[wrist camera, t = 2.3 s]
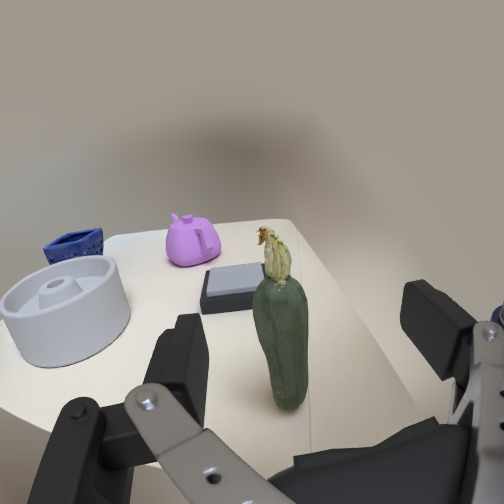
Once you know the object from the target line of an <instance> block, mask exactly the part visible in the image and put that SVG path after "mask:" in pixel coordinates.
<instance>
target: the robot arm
mask: <svg viewBox="0 0 504 504" xmlns="http://www.w3.org/2000/svg"><path fill="white" fill-rule="evenodd" d="M400 323H401V327H402V329H403V331H404V332H405V333H406V335H407V336H408V337H409V338H410V340H411V341H412V342H413V344H414V345H415V346H416V347H417V349H418V350H419V351H420V352H421V354H422V355H423V356H424V357H425V359H426V360H427V362H428V363H429V364H430V366H431V367H432V368H433V370H434V371H435V372H436V374H437V375H438V376H439V378H440V379H441V380H442V381H444V380H446V379H449V378H451V377H454V378H455V380H454V383H453V386H452V395H451V402H450V410H449V416H448V421H447V424H440V425H439V423H438V422H437V420H436V418H435V417H431V418H429V419H426V420H424V421H421V422H419V423H416V424H413V425H411V426H408V427H405V428H404V429H402V430H400V431H399V432H397V433H396V434H394V435H393V436H391V437H389V438H388V439H386V440H384V441H383V442H381V443H379V444H377V445H375V446H373V447H364V448H344V449H329V450H325V451H320V452H315V453H309V454H304V455H298V456H293V459H294V466H292V467H290V468H287V469H285V470H283V471H281V472H279V473H277V474H275V475H274V476H272V477H270V478H269V479H268V480H265V479H264V478H263V477H262V476H261V475H260V474H258V473H257V472H256V471H255V470H254V469H253V468H251V467H250V466H249V465H248V464H247V463H246V462H245V461H243V460H242V459H241V458H240V457H239V456H238V455H237V454H236V453H235V452H234V451H233V450H232V449H230V448H229V447H228V446H227V445H226V444H225V443H224V442H223V441H222V440H221V439H220V438H219V437H218V436H217V435H216V434H215V433H214V432H213V431H212V430H210V429H209V428H205V429H203V428H204V415H205V403H206V391H207V380H208V369H209V351H208V346H207V342H206V338H205V334H204V330H203V325H202V321H201V317H200V315H199V313H193V314H183V315H178V318H177V321H176V324H175V328H174V329H166V330H165V331H164V332H163V333H162V334H161V335H160V336H159V337H158V340H157V343H156V345H155V349H154V351H153V354H152V357H151V360H150V363H149V366H148V369H147V372H146V375H145V378H144V381H143V384H142V385H140V386H137V387H136V388H134V389H133V390H131V391H130V392H129V393H128V395H127V396H126V398H125V401H124V402H123V403H120V404H115V405H111V406H106V407H101V408H100V407H99V405H98V403H97V402H96V401H95V400H94V399H92V398H89V397H78V398H75V399H73V400H71V401H69V402H68V403H67V404H66V405H65V406H64V407H63V408H62V410H61V412H60V414H59V416H58V419H57V421H56V424H55V426H54V428H53V431H52V433H51V436H50V438H49V441H48V443H47V446H46V449H45V452H44V454H43V457H42V460H41V462H40V465H39V468H38V471H37V474H36V477H35V480H34V483H33V486H32V489H31V492H30V496H29V499H28V503H27V504H129V503H130V495H131V487H132V480H133V473H134V466H137V465H143V464H148V463H153V462H157V461H158V462H159V464H160V465H161V466H162V468H163V469H164V471H165V472H166V473H167V475H168V476H169V477H170V479H171V480H172V481H173V483H174V484H175V485H176V486H177V487H178V489H179V490H180V491H181V493H182V494H183V495H184V496H185V498H186V499H187V500H188V501H189V502H190V504H504V302H503V306H502V308H501V311H500V314H499V323H500V325H501V326H502V327H501V326H500V325H499V324H497V323H495V322H492V321H480V322H477V321H476V320H475V319H474V318H473V317H472V316H471V315H470V314H468V313H467V312H466V311H465V310H464V309H463V308H462V307H461V306H459V305H458V304H457V303H456V302H455V301H453V300H452V299H451V298H450V297H449V296H448V295H447V294H445V293H443V292H441V291H439V290H436V289H435V288H433V287H432V286H431V285H430V284H429V283H427V282H426V281H425V280H423V279H421V280H416V281H411V282H407V283H406V284H405V286H404V291H403V298H402V305H401V312H400Z"/></svg>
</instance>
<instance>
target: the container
mask: <svg viewBox="0 0 504 504" xmlns="http://www.w3.org/2000/svg"><path fill="white" fill-rule="evenodd" d="M0 313H1V315H2V317H3V319H4V322H5V324H6V326H7V328H8V330H9V332H10V334H11V336H12V338H13V340H14V342H15V344H16V346H17V348H18V350H19V351H20V353H21V355H22V357H23V358H24V359H25V360H26V361H27V362H28V363H30V364H32V365H35V366H39V367H47V368H51V367H61V366H66V365H70V364H73V363H76V362H79V361H82V360H84V359H86V358H88V357H90V356H92V355H94V354H96V353H98V352H99V351H101V350H102V349H104V348H105V347H107V346H108V345H109V344H110V343H112V342H113V341H114V340H115V339H116V338H117V337H118V336H119V335H120V334H121V332H122V331H123V330H124V328H125V327H126V325H127V323H128V321H129V318H130V308H129V305H128V302H127V299H126V295H125V292H124V289H123V286H122V283H121V279H120V276H119V272H118V269H117V265H116V263H115V261H114V260H113V259H112V258H110V257H107V256H102V255H91V256H82V257H77V258H72V259H68V260H65V261H61V262H58V263H55V264H53V265H50V266H47V267H45V268H43V269H41V270H38V271H36V272H34V273H32V274H31V275H29V276H27V277H26V278H24V279H22V280H21V281H19V282H18V283H17V284H15V285H14V286H13V287H12V288H10V289H9V290H8V291H7V293H6V294H5V295H4V296H3V298H2V299H1V302H0Z"/></svg>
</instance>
